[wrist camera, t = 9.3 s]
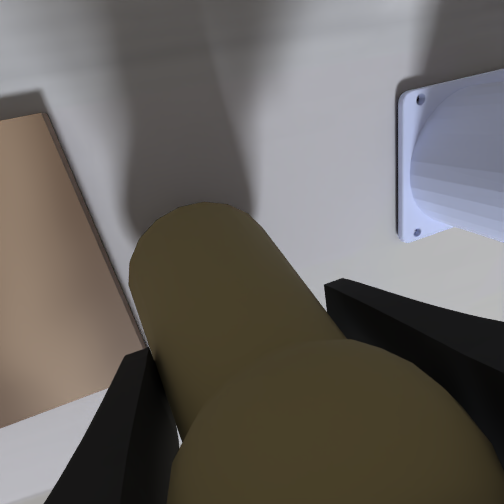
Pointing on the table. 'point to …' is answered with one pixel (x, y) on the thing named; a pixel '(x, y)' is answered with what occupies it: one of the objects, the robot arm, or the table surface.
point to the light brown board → (52, 281)
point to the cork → (288, 383)
